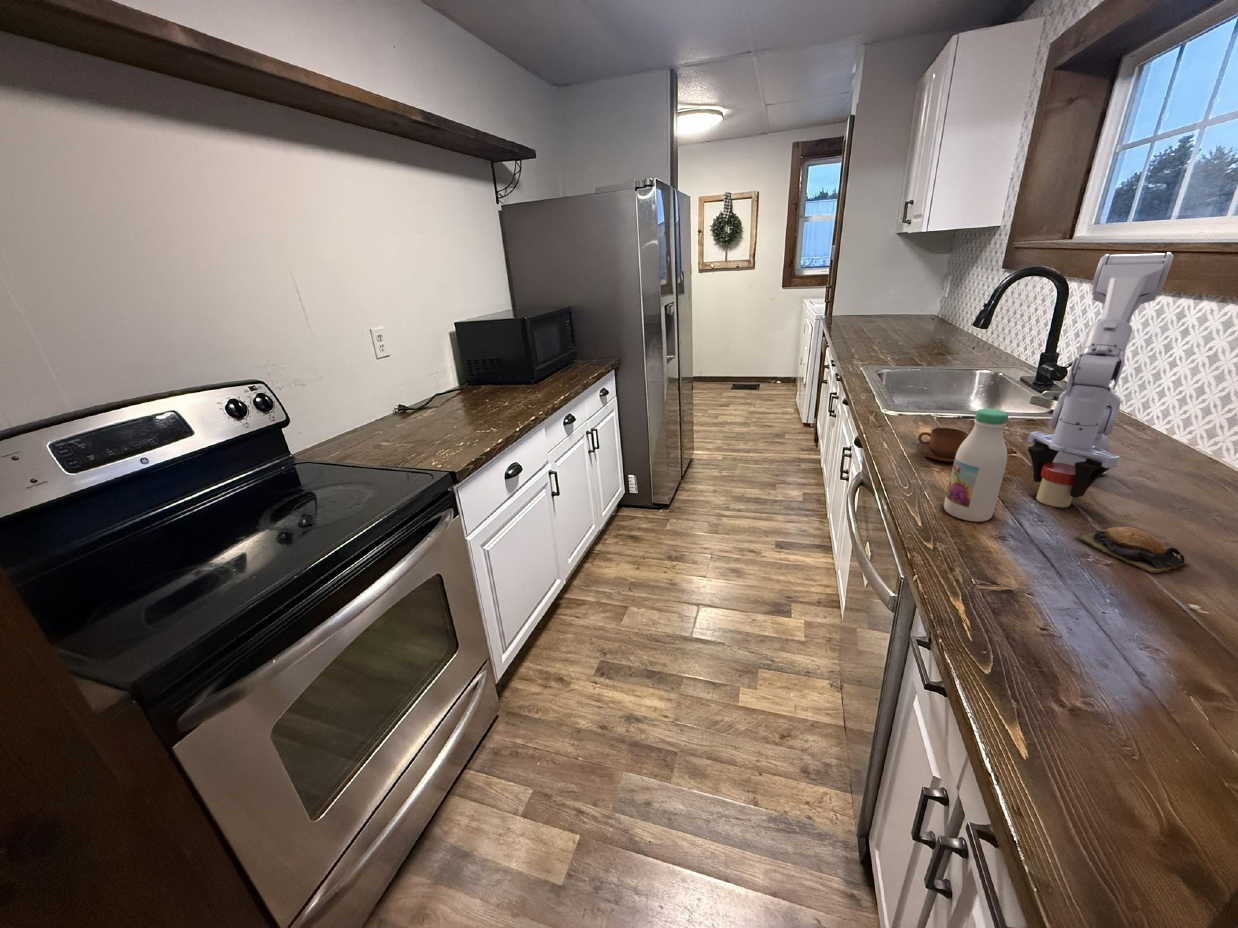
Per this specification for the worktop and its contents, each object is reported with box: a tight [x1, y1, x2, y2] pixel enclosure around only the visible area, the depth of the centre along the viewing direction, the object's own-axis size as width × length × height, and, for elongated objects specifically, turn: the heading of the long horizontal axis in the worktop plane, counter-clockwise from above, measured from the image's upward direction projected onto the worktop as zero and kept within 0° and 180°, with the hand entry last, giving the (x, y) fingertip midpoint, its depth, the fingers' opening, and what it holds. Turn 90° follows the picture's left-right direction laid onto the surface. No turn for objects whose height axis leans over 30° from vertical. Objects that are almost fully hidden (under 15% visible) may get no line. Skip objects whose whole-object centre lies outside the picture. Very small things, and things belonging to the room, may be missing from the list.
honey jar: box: [1035, 477, 1074, 508], centre depth 96 cm, size 5×5×6 cm
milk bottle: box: [943, 408, 1009, 523], centre depth 90 cm, size 8×8×20 cm
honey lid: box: [1041, 462, 1075, 485], centre depth 94 cm, size 6×6×2 cm
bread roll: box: [1079, 526, 1187, 574], centre depth 80 cm, size 11×8×4 cm
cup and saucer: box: [916, 427, 969, 463], centre depth 118 cm, size 12×12×6 cm
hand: (1057, 488), depth 96 cm, fingers open, 6 cm apart
